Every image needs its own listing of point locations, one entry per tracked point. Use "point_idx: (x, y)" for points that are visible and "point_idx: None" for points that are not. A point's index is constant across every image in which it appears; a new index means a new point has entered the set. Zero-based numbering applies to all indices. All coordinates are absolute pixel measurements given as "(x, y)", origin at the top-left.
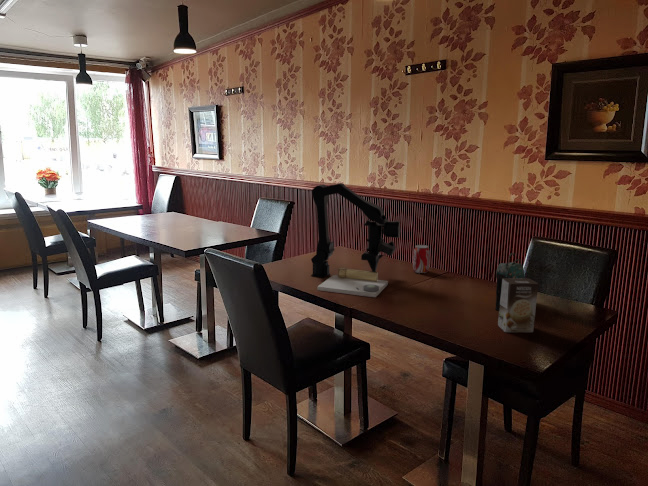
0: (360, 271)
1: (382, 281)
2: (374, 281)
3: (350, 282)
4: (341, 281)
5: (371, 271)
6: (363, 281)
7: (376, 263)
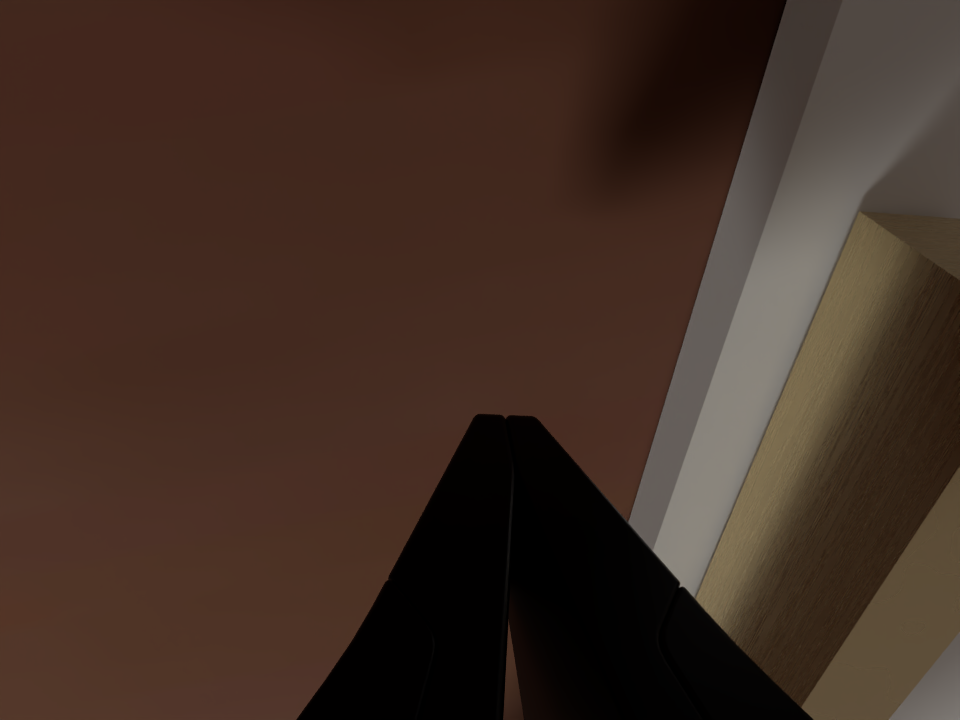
0: (890, 712)
1: (942, 48)
2: None
3: None
4: None
5: (935, 527)
6: None
7: (756, 686)
